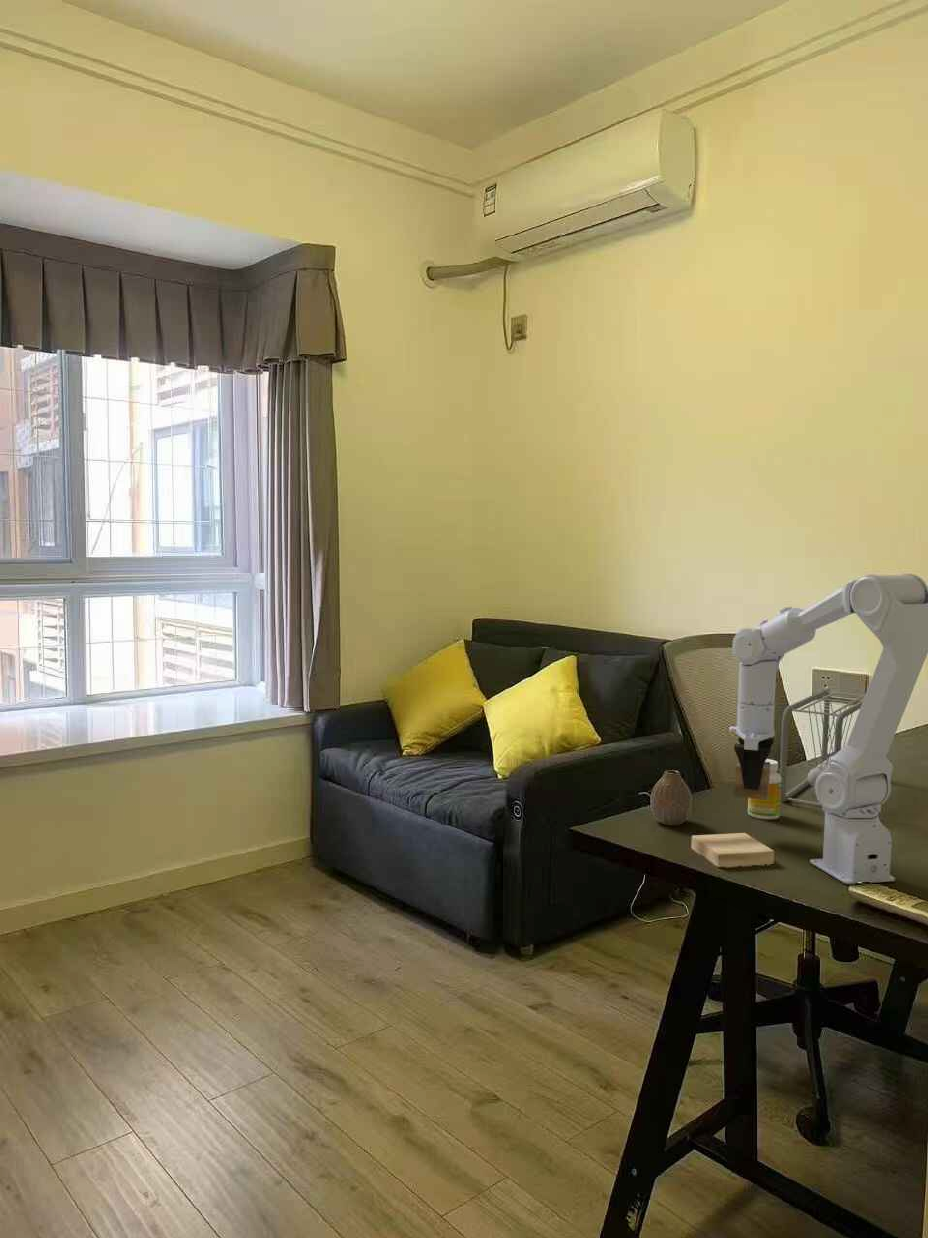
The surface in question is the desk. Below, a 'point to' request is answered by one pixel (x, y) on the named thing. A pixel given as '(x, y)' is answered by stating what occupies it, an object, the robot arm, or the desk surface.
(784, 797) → the newton's cradle
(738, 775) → the walnut cube
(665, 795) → the vase
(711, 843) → the oak block
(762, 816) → the supplement bottle
